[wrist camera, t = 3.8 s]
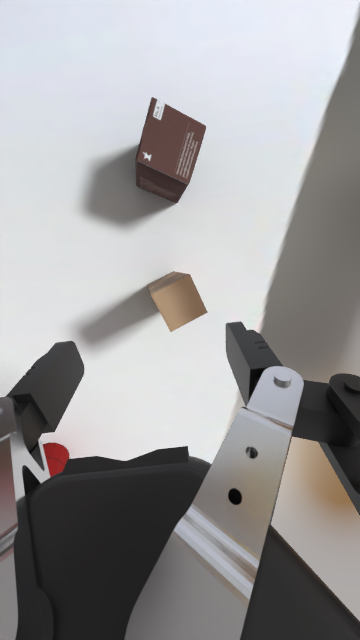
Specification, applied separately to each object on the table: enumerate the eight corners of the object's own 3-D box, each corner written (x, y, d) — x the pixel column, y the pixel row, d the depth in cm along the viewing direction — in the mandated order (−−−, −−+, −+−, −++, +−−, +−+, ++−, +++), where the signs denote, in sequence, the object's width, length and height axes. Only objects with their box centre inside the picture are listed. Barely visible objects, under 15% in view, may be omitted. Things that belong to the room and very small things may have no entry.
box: (177, 205, 30) (188, 186, 23) (135, 186, 28) (134, 161, 21) (191, 159, 29) (208, 125, 22) (148, 137, 27) (152, 93, 20)
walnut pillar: (160, 310, 33) (170, 332, 23) (146, 285, 32) (150, 294, 21) (186, 297, 33) (207, 312, 23) (173, 271, 32) (189, 274, 22)
